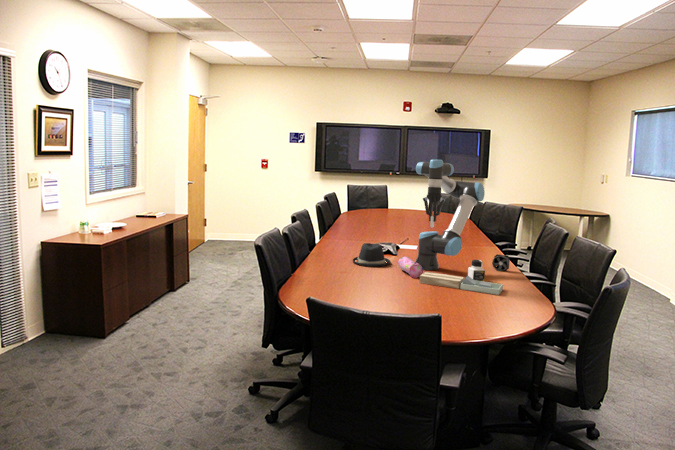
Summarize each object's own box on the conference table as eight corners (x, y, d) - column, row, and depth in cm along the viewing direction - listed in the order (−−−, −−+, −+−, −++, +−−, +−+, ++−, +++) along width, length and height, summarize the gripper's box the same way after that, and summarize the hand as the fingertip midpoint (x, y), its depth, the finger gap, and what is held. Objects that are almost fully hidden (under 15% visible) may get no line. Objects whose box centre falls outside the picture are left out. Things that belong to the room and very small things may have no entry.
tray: (465, 284, 287) (466, 278, 287) (502, 289, 279) (503, 284, 278) (460, 289, 276) (460, 283, 276) (498, 295, 267) (499, 289, 267)
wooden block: (425, 278, 297) (426, 271, 297) (463, 284, 287) (464, 277, 287) (419, 282, 286) (419, 275, 286) (458, 288, 277) (459, 281, 276)
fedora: (389, 259, 347) (390, 241, 345) (391, 268, 320) (392, 249, 318) (353, 257, 348) (354, 239, 347) (351, 266, 321) (352, 246, 320)
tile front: (492, 283, 277) (492, 288, 278) (481, 281, 280) (480, 287, 280) (490, 285, 272) (489, 291, 272) (478, 284, 275) (478, 289, 275)
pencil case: (423, 278, 298) (424, 263, 297) (408, 278, 296) (409, 263, 295) (410, 269, 319) (411, 255, 317) (396, 269, 317) (397, 255, 315)
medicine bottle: (472, 282, 293) (474, 261, 291) (467, 279, 300) (468, 258, 298) (484, 282, 294) (486, 261, 293) (478, 278, 301) (480, 258, 300)
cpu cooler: (491, 270, 326) (492, 254, 325) (493, 268, 331) (494, 253, 330) (508, 272, 322) (509, 256, 320) (509, 270, 327) (511, 255, 325)
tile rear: (477, 281, 281) (474, 286, 282) (467, 275, 283) (464, 279, 284) (474, 284, 275) (471, 288, 276) (465, 277, 277) (462, 282, 278)
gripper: (421, 186, 294) (419, 226, 298) (444, 187, 289) (441, 229, 292) (425, 185, 301) (423, 225, 304) (447, 187, 295) (444, 227, 299)
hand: (432, 227), depth 298 cm, fingers closed
